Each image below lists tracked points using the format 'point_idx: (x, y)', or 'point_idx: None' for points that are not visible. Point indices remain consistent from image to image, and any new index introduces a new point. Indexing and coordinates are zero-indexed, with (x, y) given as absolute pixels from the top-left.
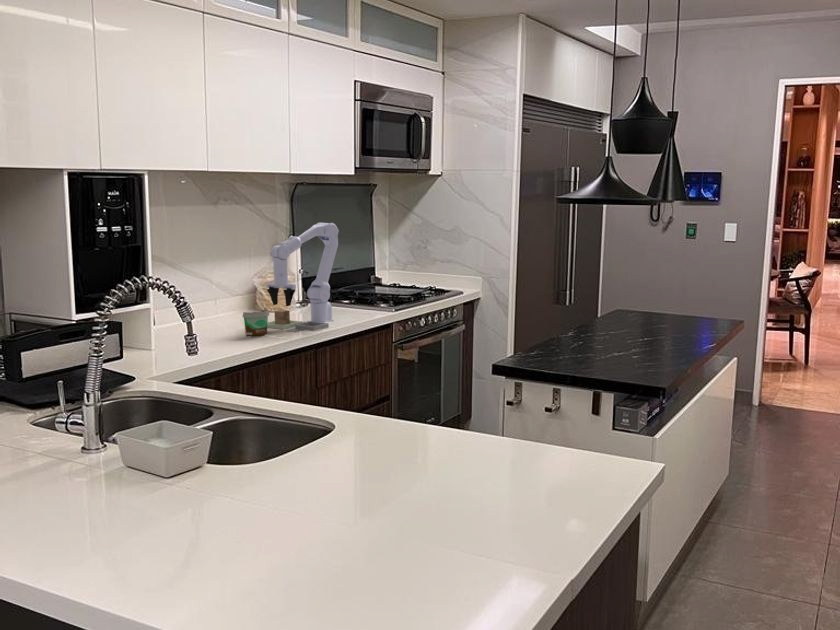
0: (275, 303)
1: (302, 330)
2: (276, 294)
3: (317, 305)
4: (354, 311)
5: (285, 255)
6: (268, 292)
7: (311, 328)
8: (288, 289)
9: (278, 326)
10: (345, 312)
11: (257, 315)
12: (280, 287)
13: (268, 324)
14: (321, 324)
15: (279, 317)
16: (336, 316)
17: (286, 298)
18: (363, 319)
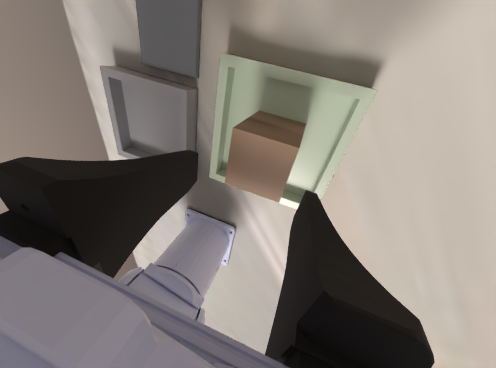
0: (299, 207)
1: (141, 44)
2: (286, 281)
3: (165, 258)
4: (214, 327)
5: None
6: (382, 286)
7: (117, 68)
8: (35, 226)
9: (259, 61)
10: (224, 323)
11: None
12: (157, 321)
13: (328, 78)
14: (116, 126)
15: (267, 125)
16: (215, 292)
17: (142, 161)
18: (148, 258)
